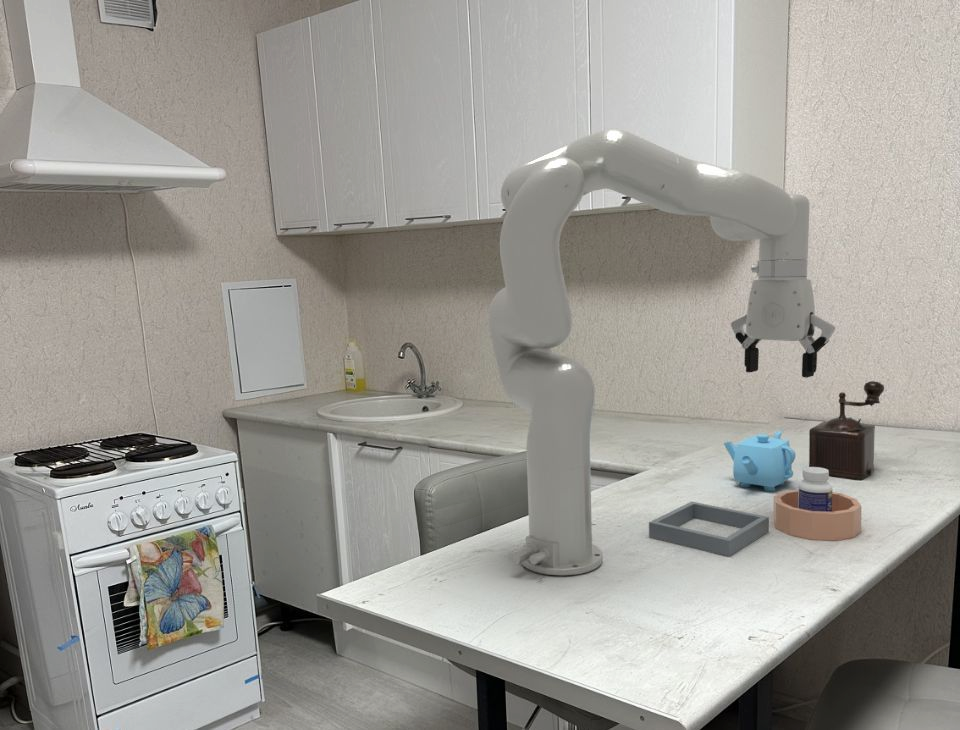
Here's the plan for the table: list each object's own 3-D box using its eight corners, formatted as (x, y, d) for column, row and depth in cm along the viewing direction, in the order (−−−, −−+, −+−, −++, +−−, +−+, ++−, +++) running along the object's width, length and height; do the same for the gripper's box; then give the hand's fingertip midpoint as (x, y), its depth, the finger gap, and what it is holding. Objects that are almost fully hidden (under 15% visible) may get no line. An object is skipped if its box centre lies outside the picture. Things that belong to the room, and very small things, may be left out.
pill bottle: (834, 527, 128) (836, 474, 127) (800, 526, 130) (801, 473, 128) (827, 517, 134) (829, 466, 132) (794, 515, 135) (795, 465, 134)
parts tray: (729, 556, 120) (729, 540, 120) (649, 536, 130) (648, 522, 129) (768, 531, 130) (768, 517, 130) (691, 515, 140) (691, 501, 139)
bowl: (842, 546, 123) (842, 518, 122) (761, 528, 131) (761, 503, 131) (870, 524, 132) (871, 498, 131) (793, 509, 141) (793, 485, 140)
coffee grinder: (865, 481, 156) (867, 391, 153) (807, 473, 163) (808, 387, 160) (884, 464, 168) (887, 380, 165) (829, 457, 175) (831, 377, 172)
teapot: (777, 501, 146) (777, 448, 144) (705, 489, 155) (705, 438, 153) (811, 478, 159) (811, 429, 158) (743, 468, 168) (743, 422, 167)
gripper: (723, 271, 134) (720, 372, 136) (826, 271, 122) (822, 381, 124) (744, 271, 139) (741, 367, 141) (845, 270, 127) (840, 376, 129)
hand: (779, 374), depth 132 cm, fingers open, 9 cm apart
